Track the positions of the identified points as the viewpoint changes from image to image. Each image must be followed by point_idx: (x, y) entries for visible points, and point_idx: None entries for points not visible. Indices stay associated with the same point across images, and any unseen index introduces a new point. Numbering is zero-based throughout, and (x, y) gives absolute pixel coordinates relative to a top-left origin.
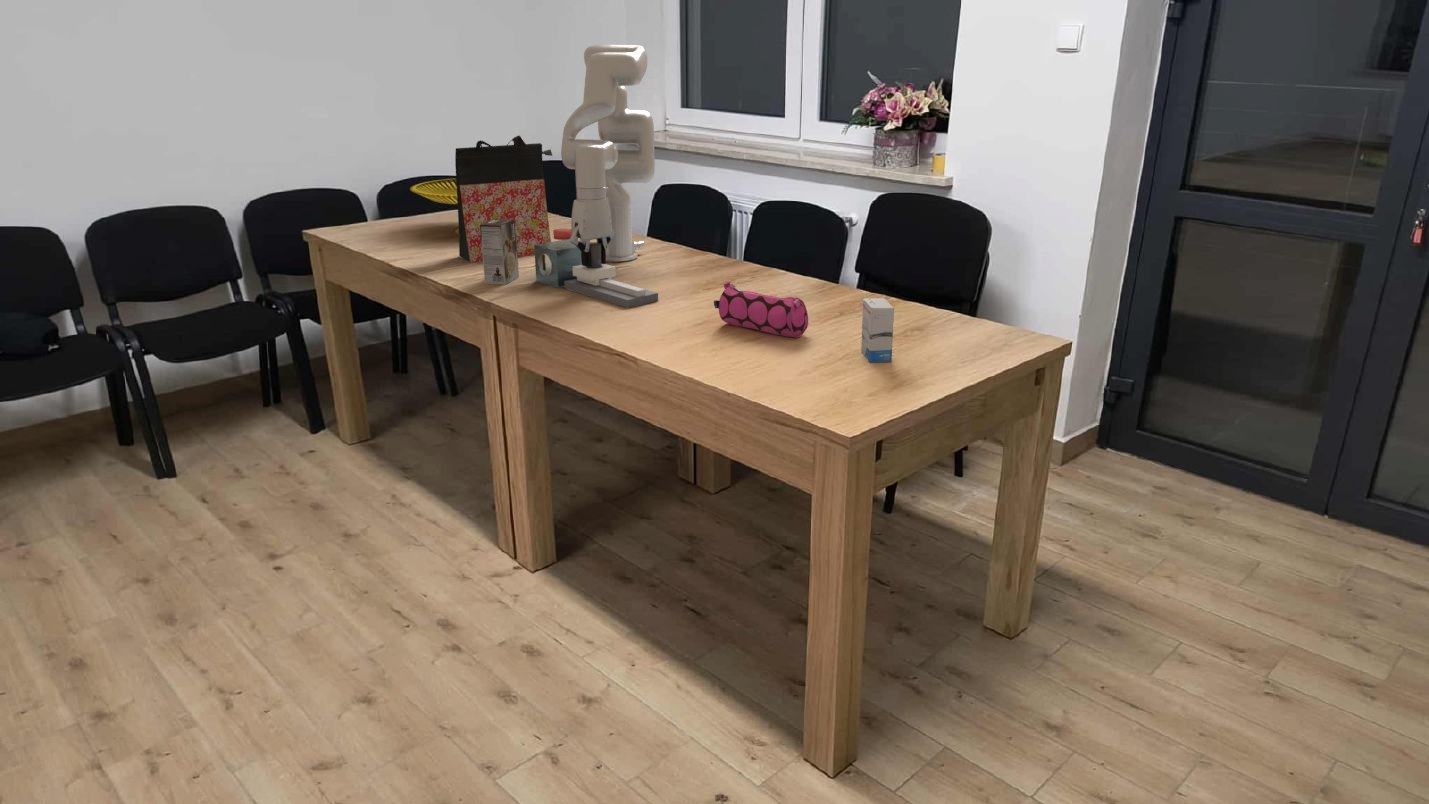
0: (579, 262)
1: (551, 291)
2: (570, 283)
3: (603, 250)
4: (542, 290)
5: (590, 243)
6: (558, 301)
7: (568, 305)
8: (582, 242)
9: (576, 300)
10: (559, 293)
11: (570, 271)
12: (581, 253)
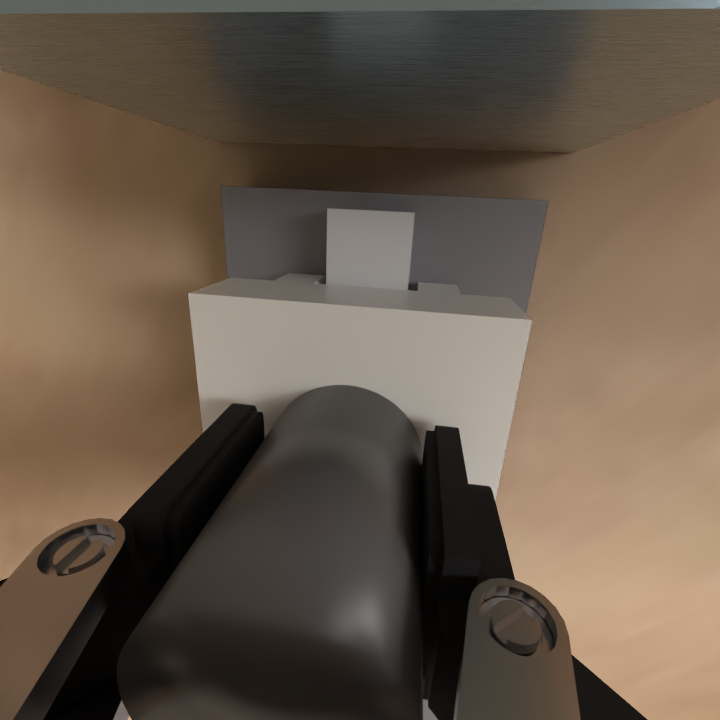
0: (427, 109)
1: (139, 183)
2: (228, 271)
3: (423, 672)
4: (100, 107)
5: (243, 673)
6: (80, 393)
7: (92, 475)
8: (3, 692)
9: (163, 445)
10: (158, 266)
11: (304, 124)
12: (124, 521)
